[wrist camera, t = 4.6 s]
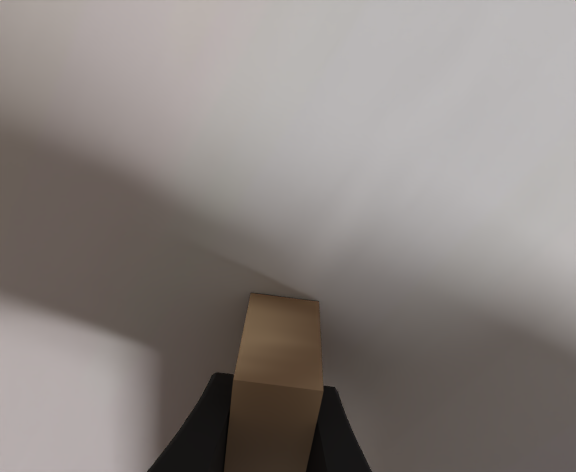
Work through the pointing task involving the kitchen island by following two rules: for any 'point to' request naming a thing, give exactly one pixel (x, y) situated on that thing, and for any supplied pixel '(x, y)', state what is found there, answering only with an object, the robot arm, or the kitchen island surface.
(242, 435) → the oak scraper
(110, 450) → the kitchen island surface
